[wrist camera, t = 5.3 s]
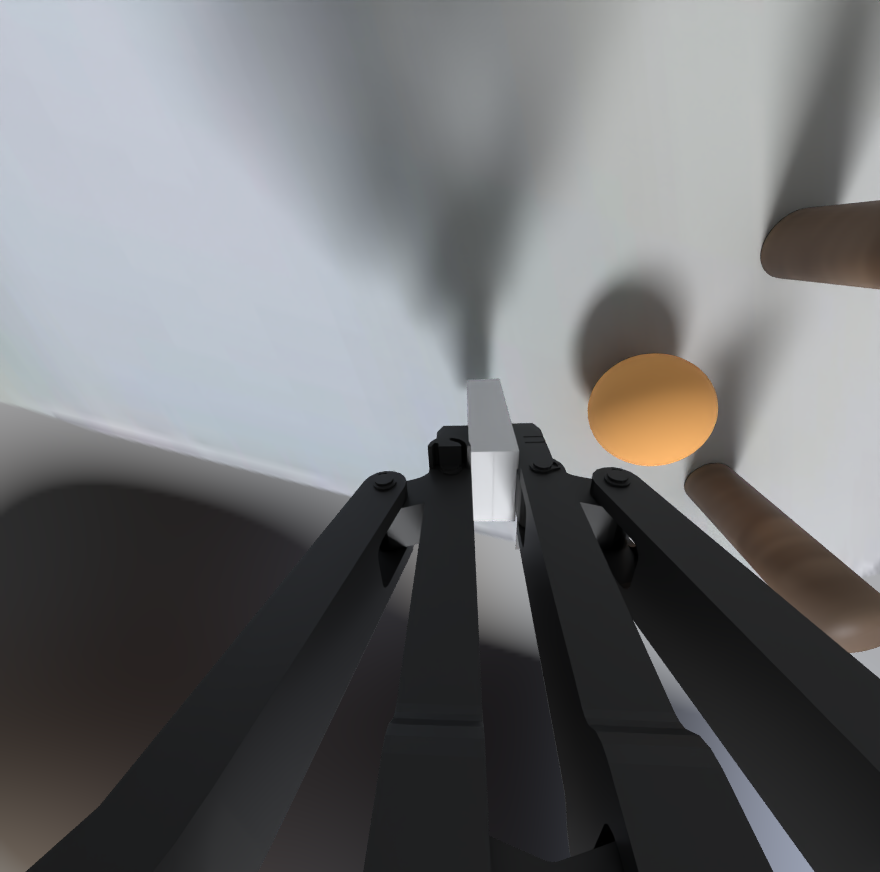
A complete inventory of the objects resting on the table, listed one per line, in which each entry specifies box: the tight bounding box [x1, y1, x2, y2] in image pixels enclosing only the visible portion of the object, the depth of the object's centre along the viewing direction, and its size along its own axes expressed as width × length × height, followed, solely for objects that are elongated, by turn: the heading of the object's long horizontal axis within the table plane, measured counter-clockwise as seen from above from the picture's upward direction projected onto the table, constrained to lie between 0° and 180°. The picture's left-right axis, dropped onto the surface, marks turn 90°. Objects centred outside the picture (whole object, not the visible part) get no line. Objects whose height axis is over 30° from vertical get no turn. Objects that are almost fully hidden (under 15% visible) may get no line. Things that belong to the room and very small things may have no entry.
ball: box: [588, 353, 718, 466], centre depth 16 cm, size 5×5×5 cm
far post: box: [684, 463, 880, 653], centre depth 17 cm, size 3×3×9 cm
